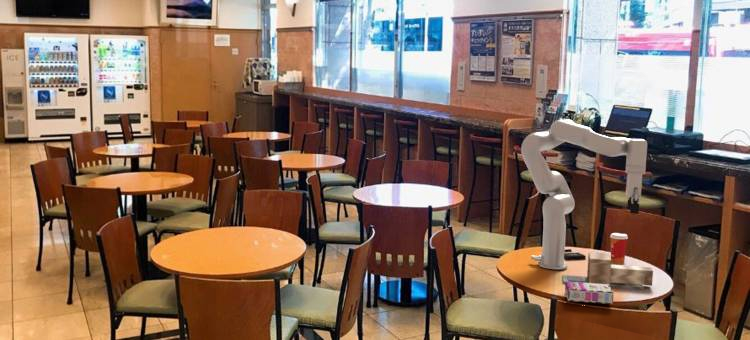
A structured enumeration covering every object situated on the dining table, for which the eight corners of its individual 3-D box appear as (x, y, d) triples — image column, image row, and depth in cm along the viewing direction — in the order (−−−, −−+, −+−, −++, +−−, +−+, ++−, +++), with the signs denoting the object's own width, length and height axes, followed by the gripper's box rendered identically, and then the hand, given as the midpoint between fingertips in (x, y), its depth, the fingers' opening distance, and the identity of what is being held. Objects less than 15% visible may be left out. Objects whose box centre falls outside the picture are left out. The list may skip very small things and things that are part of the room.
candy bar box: (567, 302, 267) (613, 304, 265) (568, 289, 267) (613, 291, 264) (564, 293, 278) (608, 296, 276) (565, 281, 278) (609, 283, 275)
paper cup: (611, 261, 330) (613, 232, 328) (628, 264, 326) (630, 234, 324) (606, 264, 324) (607, 234, 322) (623, 267, 319) (625, 237, 318)
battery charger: (585, 264, 326) (585, 255, 326) (566, 265, 324) (567, 256, 323) (570, 257, 338) (570, 249, 338) (552, 258, 336) (552, 249, 335)
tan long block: (563, 284, 291) (564, 256, 289) (562, 276, 302) (563, 250, 301) (643, 290, 284) (645, 262, 282) (639, 282, 295) (641, 255, 294)
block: (610, 282, 289) (611, 267, 289) (608, 278, 295) (609, 264, 294) (652, 285, 286) (653, 271, 285) (649, 281, 292) (650, 267, 291)
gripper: (623, 166, 297) (620, 207, 299) (628, 171, 280) (625, 214, 282) (642, 167, 295) (639, 208, 297) (648, 172, 279) (645, 215, 281)
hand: (632, 211), depth 290 cm, fingers open, 9 cm apart
